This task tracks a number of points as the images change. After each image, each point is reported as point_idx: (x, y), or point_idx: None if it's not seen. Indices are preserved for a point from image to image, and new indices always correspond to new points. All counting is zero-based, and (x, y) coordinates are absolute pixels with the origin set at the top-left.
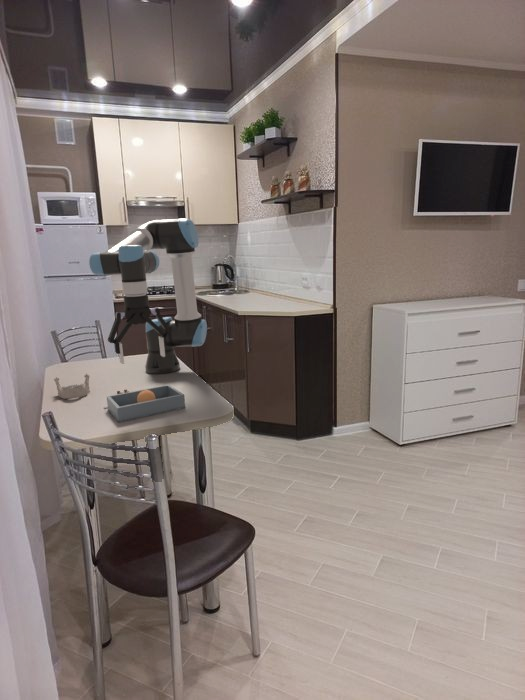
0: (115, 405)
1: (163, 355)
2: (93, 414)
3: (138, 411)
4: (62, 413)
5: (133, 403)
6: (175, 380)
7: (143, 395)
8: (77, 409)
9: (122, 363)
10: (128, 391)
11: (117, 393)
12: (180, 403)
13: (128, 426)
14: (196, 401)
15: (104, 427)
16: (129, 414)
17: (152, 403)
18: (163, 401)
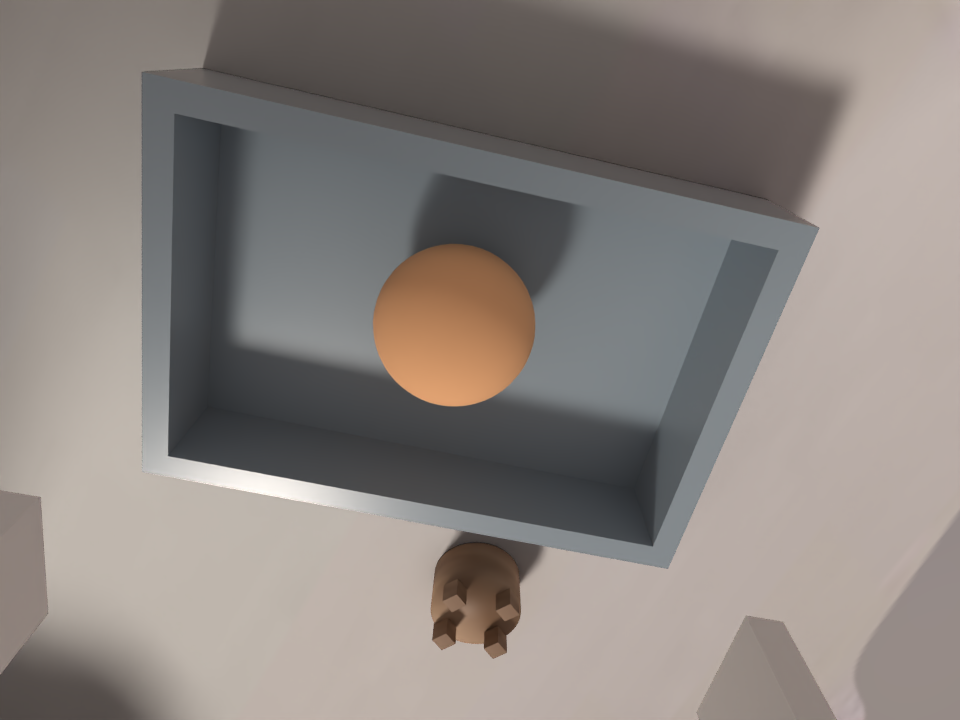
0: (777, 311)
1: (12, 512)
2: (762, 483)
3: (620, 172)
4: (855, 627)
5: (481, 456)
6: (17, 671)
7: (501, 306)
8: None
9: (777, 625)
10: (448, 597)
11: (504, 637)
12: (225, 80)
13: (784, 40)
14: (50, 141)
15: (898, 182)
16: (693, 189)
17: (490, 149)
18: (380, 123)
